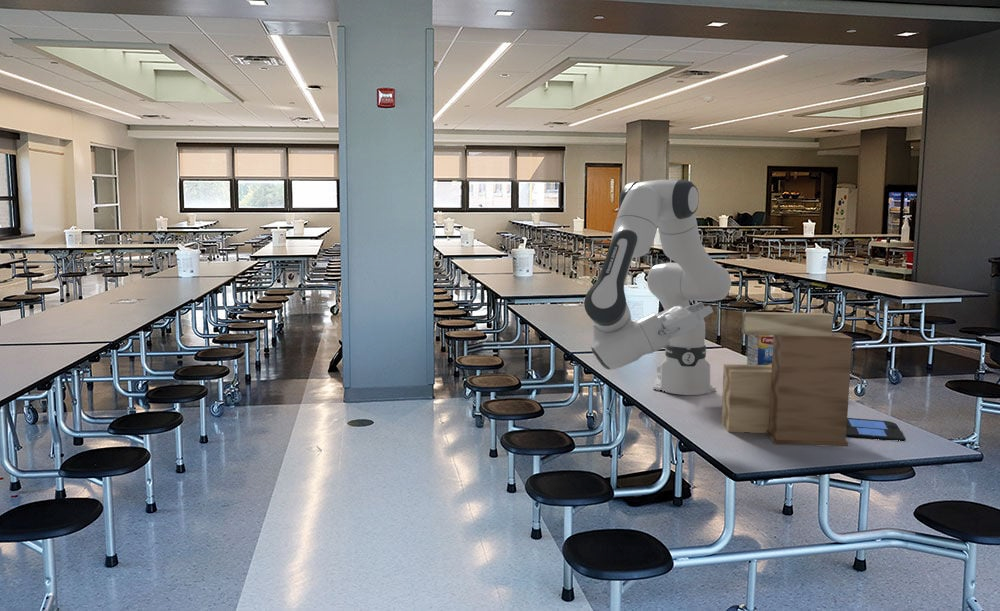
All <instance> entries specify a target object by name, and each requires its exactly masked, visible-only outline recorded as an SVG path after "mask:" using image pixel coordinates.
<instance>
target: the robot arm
mask: <svg viewBox="0 0 1000 611" xmlns="http://www.w3.org/2000/svg"><path fill="white" fill-rule="evenodd" d="M699 196H700V195H699V191H698V188H697V186H696V185H695V184H694V183H693V182H692V181H689V180H685V179H678V180H677V179H675V180H674V179H654V180H646V181H645V180H644V181H633V182H629V183H627V184H625V186H624V187H623V188H622V189H621V191H620V193H619V198H618V199H619V200H618V201H619V209H618V212H617V215H616V219H615V221H614V224H613V229H612V233H611V234H612V235H611V239H610V244H609V247H608V250H607V254H606V257H605V259H604V262H603V265H602V268H601V270H600V273H599V275H598V277H597V279H596V281H594V283H593V284H592V285H591V287H590V288H589V289H588V291H587V292H586V294H585V296H584V297H585V298H584V302H583V304H584V310H585V312H586V314H587V316H588V317H589V318H590V319H591V322H592V323H593V324H592V328H593V339H592V345H591V347H590V349H591V352H592V354H593V356H595V358H596V360H597V361H598V362H599V364H600V365H601V366H602V367H603V368H604V369H606V370H608V371H609V370H610V371H611V370H617V369H620V368H623V367H625V366H627V365H630V364H632V363H634V362H636V361H639V360H640V359H641V358H642V357H643V356H645V355H649V354H653V353H655V352H657V351H660V350H661V349H663V348H665V349H664V351H665V352H664V354H665V357H664V360H662V362H660V364H659V365H657V366H656V367H657V369H656V372H657V374H658V375H657V377H656V379H655V381H654V384H653V387H652V389H653V390H654V389H656V390H655V391H660V390H662V391H661V392H664V391H665V393H668V394H673V395H681V396H683V395H684V396H698V395H699V396H700V395H704V394H708V393H711V392H712V393H713V392H716V389H717V388H716V387H715V386H714V385H712V384H711V364H710V363H709V361H707V360H706V356H707V346H706V345H705V342H706V321H705V317H707V316H708V315H711V314H713V312H714V309H713V307H712V306H711V305H707V306H705V305H704V303H703V302H715V301H716V302H717V301H722V300H723V299H725V298H726V297H727V296H728V294H729V293H730V290H731V289H732V279H731V276H730V273H729V272H728V270H727V269H726V268H725V267H723V266H721V265H720V264H719V263H717V262H716V261H715V260H714V259H712V257H711V256H710V255H709V253H708V252H707V250H706V249H705V247H704V246H703V243H702V240H701V236H700V232H699V228H698V221H697V217H696V212H697V210H698V208H699V204H700V203H699V201H700V200H699V198H700V197H699ZM657 231H658V233H659V234H658V235H659V239H660V244H661V249H662V251H663V253H664V255H665V256H666V257H667V258H669V259H670V260H672V261H673V262H665V263H664V262H663V263H658V264H655V265H653V266H652V267H651V268H650V270H649V271H648V273H647V278H646V282H647V287H648V289H649V291H650V293H652V295H653V296H654V297H656V299H658V301H659V302H660V304H661V306H662V308H663V310H662V311H659V312H657V313H655V312H651V313H650V314H648V315H646V316H644V317H641V318H639V319H638V320H635V321H633V320H632V314H631V311H630V308H629V305H628V303H627V298H626V293H625V283H626V281H627V277H628V274H629V270H630V268H631V264H632V262H633V259H634V258H636V259H637V258H641V257H643V256H645V255H647V254H648V253H649V252H650V249H651V248H652V246H653V243H654V241H655V238H656V236H657ZM690 301H697V303H695V304H692V305H690Z"/></svg>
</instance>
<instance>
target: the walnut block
mask: <svg viewBox="0 0 1000 611" xmlns="http://www.w3.org/2000/svg"><path fill="white" fill-rule="evenodd" d="M852 350H853V337H852V336H848V335H847V334H844V333H842V332H832V336H785V335H773V354H772V374H771V393H770V413H769V430H766V433H765V434H766V436H768V438H769V439H770V440H771V442H772V443H773V444H774V445H781V446H782V445H783V446H784V445H785V446H786V445H787V446H788V445H789V446H812V447H813V446H819V447H846V448H847V447H849V442H848V441H847V437H846V430H847V418H848V411H849V400H850V399H849V398H850V397H849V395H850V382H851V380H850V379H851V367H852V366H851V364H852Z"/></svg>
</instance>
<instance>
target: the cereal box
mask: <svg viewBox="0 0 1000 611" xmlns="http://www.w3.org/2000/svg"><path fill="white" fill-rule="evenodd" d="M746 350H747V353H746V355H747V356H746V365H772V354H773V335H747V349H746Z"/></svg>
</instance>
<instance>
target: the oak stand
mask: <svg viewBox="0 0 1000 611" xmlns="http://www.w3.org/2000/svg"><path fill="white" fill-rule="evenodd" d="M722 373H723V375H722V376H723V377H722V397H721V424H722V423H723V424H722V425H723V427H724V426H725V427H724V428H725V429H726V431H727V430H728V431H727V432H728V433H744V432H750V434H751V433H753V434H766V430H769V413H770V393H771V374H772V365H747V364H734V363H733V364H729V363H728V364H726V363H725V364H723V372H722Z"/></svg>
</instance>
